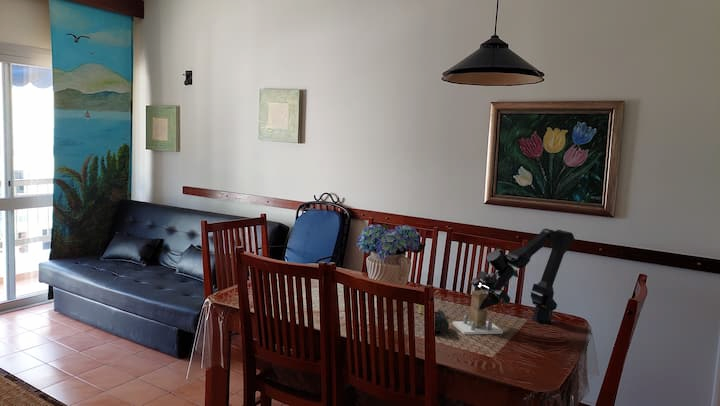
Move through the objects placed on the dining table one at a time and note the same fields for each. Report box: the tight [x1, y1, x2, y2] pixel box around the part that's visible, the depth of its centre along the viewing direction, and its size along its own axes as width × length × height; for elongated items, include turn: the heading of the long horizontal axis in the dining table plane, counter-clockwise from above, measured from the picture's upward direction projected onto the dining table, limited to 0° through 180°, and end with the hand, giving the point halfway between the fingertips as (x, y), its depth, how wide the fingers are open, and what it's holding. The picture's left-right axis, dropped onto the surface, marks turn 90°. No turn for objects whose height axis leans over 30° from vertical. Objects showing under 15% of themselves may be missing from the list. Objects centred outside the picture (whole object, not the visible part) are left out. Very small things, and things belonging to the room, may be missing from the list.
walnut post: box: [468, 289, 489, 327], centre depth 196 cm, size 4×4×13 cm
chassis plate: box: [452, 314, 504, 335], centre depth 197 cm, size 16×11×4 cm
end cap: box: [433, 309, 450, 336], centre depth 192 cm, size 10×7×7 cm
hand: (476, 306), depth 195 cm, fingers open, 5 cm apart
